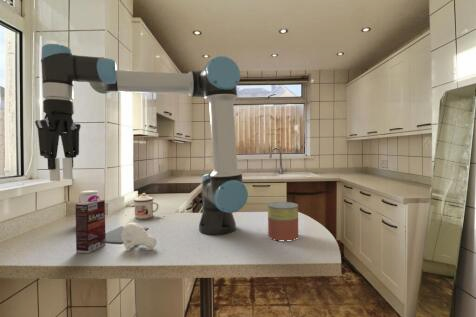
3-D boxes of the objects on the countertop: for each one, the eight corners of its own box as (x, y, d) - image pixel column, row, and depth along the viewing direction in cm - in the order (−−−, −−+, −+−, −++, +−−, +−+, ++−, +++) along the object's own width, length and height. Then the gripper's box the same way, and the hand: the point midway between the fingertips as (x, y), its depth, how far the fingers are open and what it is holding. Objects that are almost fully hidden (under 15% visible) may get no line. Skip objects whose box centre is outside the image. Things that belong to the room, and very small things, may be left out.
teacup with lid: (131, 219, 130) (130, 195, 129) (139, 214, 139) (138, 192, 139) (155, 219, 129) (154, 195, 128) (162, 214, 138) (161, 192, 138)
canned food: (305, 238, 98) (304, 205, 98) (281, 244, 92) (280, 209, 92) (284, 230, 108) (284, 200, 108) (262, 235, 102) (261, 204, 102)
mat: (148, 228, 113) (148, 227, 113) (121, 243, 95) (121, 242, 95) (121, 227, 115) (121, 226, 115) (89, 241, 98) (89, 240, 98)
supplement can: (104, 222, 123) (103, 190, 123) (85, 227, 116) (84, 193, 116) (94, 220, 128) (93, 189, 127) (76, 224, 121) (75, 191, 120)
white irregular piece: (131, 219, 94) (161, 224, 91) (130, 243, 95) (160, 249, 92) (119, 224, 88) (150, 230, 85) (117, 249, 89) (149, 256, 85)
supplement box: (88, 254, 86) (86, 204, 86) (75, 253, 87) (74, 204, 87) (106, 244, 95) (105, 199, 94) (94, 243, 95) (93, 199, 95)
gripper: (71, 105, 87) (73, 177, 88) (19, 95, 71) (23, 183, 72) (91, 104, 86) (93, 177, 87) (42, 93, 69) (46, 183, 70)
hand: (61, 179), depth 79 cm, fingers open, 4 cm apart
